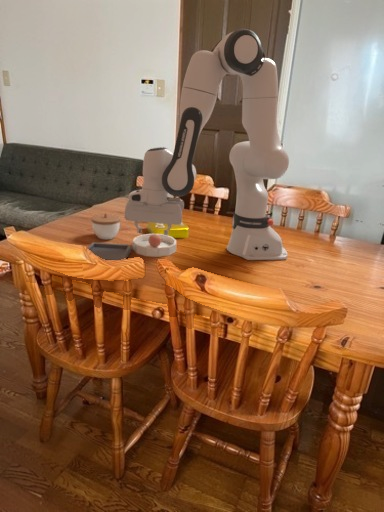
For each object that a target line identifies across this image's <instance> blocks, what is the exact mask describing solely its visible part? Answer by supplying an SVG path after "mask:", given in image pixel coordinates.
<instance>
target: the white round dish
mask: <svg viewBox="0 0 384 512" xmlns="http://www.w3.org/2000/svg"><path fill="white" fill-rule="evenodd" d="M151 235H153V234H150V233H146V234H145V233H144V234H140V235H138V236H135V237H134V238H133V240H132V250H133V251H134V252H135V254H137V255H141V256H144V257H151V258H154V257H155V258H160V257H168V256H171V255H173V254H175V253H176V251H177V239H174V238H173V237H171V236H165V235H162V234H157V235H159V236H160V238H161V243H160V245H159V246H157V247H153V246H151V245H150V244H149V237H150V236H151Z"/></svg>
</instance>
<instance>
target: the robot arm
mask: <svg viewBox="0 0 384 512" xmlns="http://www.w3.org/2000/svg"><path fill="white" fill-rule="evenodd" d="M259 38H260V37H258V35H257V34H256V33H255V32H254V31H252V30H250V29H248V28H247V29H246V28H239V29H236V30H234V31H231V32H229V33H228V34H226V35H225V36H224V37H223V38H221V39H220V40H219V41H217V43H216V44H215V46H214V47H213V48H212V49H211V51H209V50H202V49H201V50H198V51H196V52H195V53H193V54H192V56H191V58H190V59H189V62H188V66H187V68H186V71H185V75H184V79H183V83H182V87H181V92H180V101H179V123H178V131H177V136H176V139H175V145H174V149H173V152H172V151H170V149H169V148H168V147H164V146H163V147H161V146H160V147H153V148H149V149H148V150H146V152H145V153H144V156H143V162H142V176H143V177H142V178H143V182H142V186H141V189H137V190H131V192H130V193H129V194H128V196H127V197H128V198H127V199H128V200H127V202H126V204H125V208H124V214H123V215H124V216H123V217H124V219H125V221H129V222H130V221H131V222H134V226H135V227H136V229H137V234H142V233H143V227H141V226H140V223H142V222H143V223H147V222H151V223H163V224H168V228H167V230H164V235H165V236H168V231H169V230H170V228H171V226H172V224H174V225H180V224H181V223H182V221H183V210H184V209H185V201H184V200H183V199H181V198H180V197H184V196H187V195H188V194H189V193H191V191H192V190H193V187H194V186H195V185H194V184H195V181H196V179H197V168H196V166H195V165H194V164H193V161H194V157H195V154H196V150H197V149H196V148H197V144H198V141H199V137H200V135H201V132H202V130H203V128H204V127H205V125H206V124H207V123H208V121H209V119H210V118H211V116H212V113H213V111H214V108H215V105H216V102H217V98H218V94H219V89H220V84H221V82H222V80H223V79H224V77H226V76H235V75H236V76H237V75H238V77H240V79H241V84H242V105H241V106H242V107H241V109H242V110H241V124H242V127H243V128H244V130H245V132H246V134H247V136H248V140H246V141H242V142H241V141H240V142H237V143H236V144H234V145H233V146H232V147H231V149H230V151H229V157H228V158H229V163H230V164H231V167H232V168H233V171H234V176H235V182H236V198H235V199H236V203H235V208H234V209H235V211H234V212H233V216H232V223H231V226H232V227H231V228H232V230H231V234H230V238H229V241H228V243H227V246H226V250H227V251H228V252H229V253H231V254H233V255H235V256H238V257H241V258H243V260H244V259H245V260H247V261H258V260H259V261H260V260H261V261H263V260H267V261H268V260H271V261H273V260H275V261H277V260H286V259H287V258H288V251H287V250H286V249H285V247H283V240H282V237H281V236H280V234H278V232H276V230H275V229H273V228H272V227H271V226H273V225H274V220H273V219H272V218H271V217H269V216H268V215H267V208H268V201H269V193H268V191H267V189H266V187H265V183H264V180H277V179H279V178H281V177H283V176H285V173H286V172H287V171H288V168H289V163H290V160H289V159H290V158H289V155H288V153H287V152H286V150H285V149H284V147H283V144H282V142H281V140H280V136H279V130H278V120H277V118H278V97H279V79H278V78H279V77H278V67H277V64H276V63H275V61H274V60H272V59H271V58H268V57H266V54H265V52H264V50H263V47H262V43H261V40H260V39H259ZM168 195H171V196H172V197H171V196H170V197H169V196H168Z"/></svg>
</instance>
